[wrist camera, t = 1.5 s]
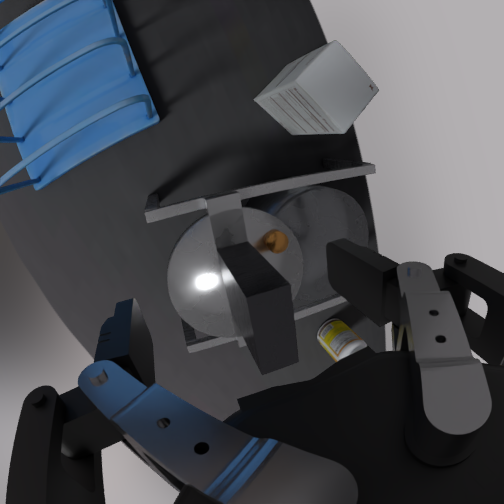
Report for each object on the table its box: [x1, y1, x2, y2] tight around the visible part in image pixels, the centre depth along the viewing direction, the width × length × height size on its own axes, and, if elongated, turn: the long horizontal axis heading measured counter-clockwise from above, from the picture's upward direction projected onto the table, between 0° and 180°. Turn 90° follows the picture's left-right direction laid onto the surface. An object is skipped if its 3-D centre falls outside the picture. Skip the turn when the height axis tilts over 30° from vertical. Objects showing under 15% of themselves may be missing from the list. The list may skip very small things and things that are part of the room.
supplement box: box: [254, 40, 379, 135], centre depth 30 cm, size 7×7×13 cm
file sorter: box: [0, 0, 160, 195], centre depth 19 cm, size 25×17×15 cm
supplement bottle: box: [317, 319, 367, 362], centre depth 46 cm, size 6×6×10 cm
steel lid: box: [167, 191, 303, 375], centre depth 25 cm, size 14×16×11 cm
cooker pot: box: [145, 158, 375, 353], centre depth 36 cm, size 25×16×10 cm, turn 100°
